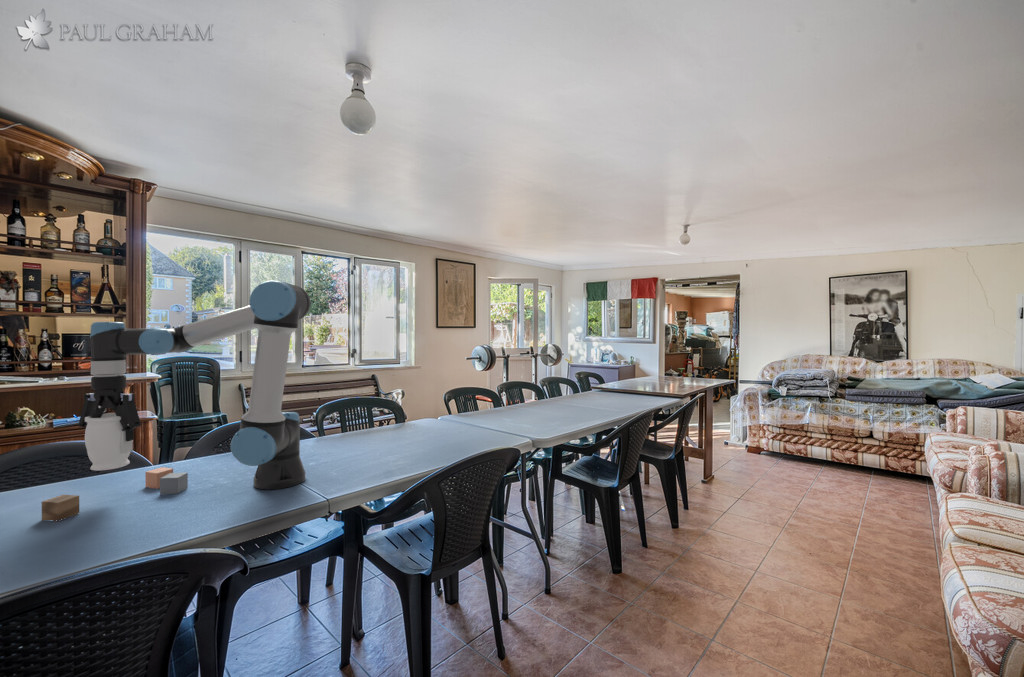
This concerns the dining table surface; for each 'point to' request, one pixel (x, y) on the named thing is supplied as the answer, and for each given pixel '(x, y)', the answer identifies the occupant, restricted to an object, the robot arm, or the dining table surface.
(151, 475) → the terracotta block
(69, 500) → the walnut block
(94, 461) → the jar
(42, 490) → the dining table surface
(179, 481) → the grey block
